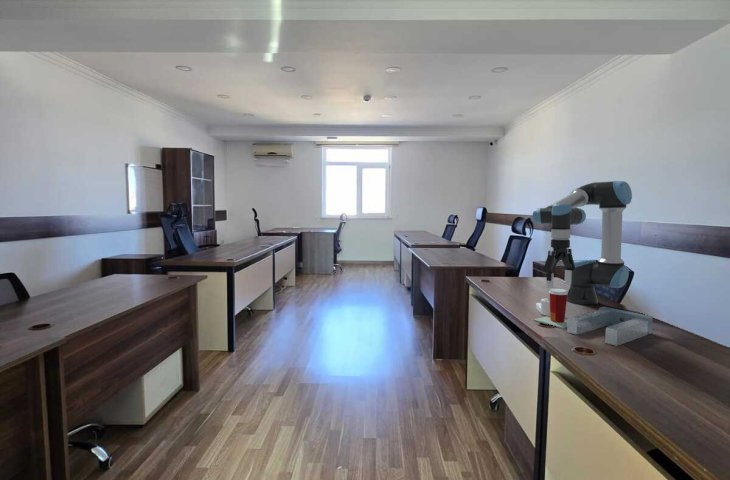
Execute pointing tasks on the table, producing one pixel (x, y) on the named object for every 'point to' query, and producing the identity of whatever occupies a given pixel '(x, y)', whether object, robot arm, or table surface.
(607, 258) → the robot arm
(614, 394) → the table surface
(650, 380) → the table surface
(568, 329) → the vise
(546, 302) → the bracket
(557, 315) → the paper cup
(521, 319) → the table surface
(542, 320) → the mat
